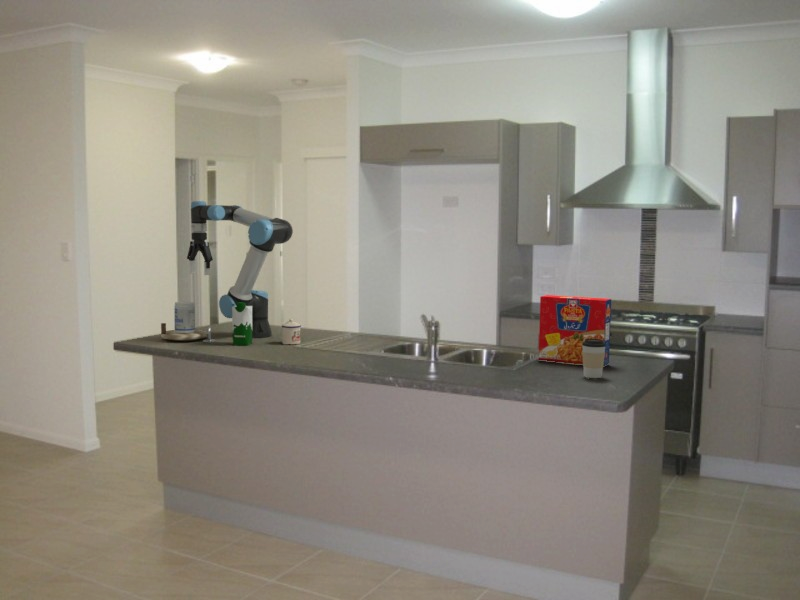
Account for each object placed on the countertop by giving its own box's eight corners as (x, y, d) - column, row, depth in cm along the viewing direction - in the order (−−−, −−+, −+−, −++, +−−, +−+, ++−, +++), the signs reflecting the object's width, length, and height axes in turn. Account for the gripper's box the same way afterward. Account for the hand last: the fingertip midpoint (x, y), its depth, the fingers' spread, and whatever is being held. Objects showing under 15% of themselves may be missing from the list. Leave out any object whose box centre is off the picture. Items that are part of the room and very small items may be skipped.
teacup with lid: (294, 345, 382) (294, 321, 381) (277, 344, 386) (277, 319, 385) (307, 342, 393) (307, 318, 392) (291, 340, 397) (291, 316, 396)
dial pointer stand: (215, 341, 392) (215, 326, 391) (210, 342, 388) (209, 328, 388) (206, 340, 394) (206, 326, 393) (201, 341, 391) (200, 327, 390)
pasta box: (538, 361, 349) (540, 296, 346) (545, 358, 356) (547, 294, 353) (603, 368, 335) (605, 300, 332) (608, 365, 342) (611, 299, 339)
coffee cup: (601, 374, 321) (602, 337, 319) (607, 379, 312) (609, 340, 310) (578, 374, 321) (579, 337, 319) (584, 379, 312) (585, 340, 310)
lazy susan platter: (201, 331, 412) (200, 318, 411) (213, 337, 392) (213, 323, 392) (156, 334, 401) (156, 320, 400) (166, 340, 382) (166, 326, 381)
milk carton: (230, 345, 381) (230, 302, 378) (236, 342, 390) (236, 300, 387) (249, 346, 380) (248, 303, 378) (254, 343, 389) (254, 301, 387)
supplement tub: (170, 333, 393) (170, 303, 392) (182, 330, 402) (181, 301, 401) (187, 334, 390) (187, 303, 389) (199, 331, 399) (198, 302, 398)
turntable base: (205, 338, 400) (205, 335, 400) (187, 342, 388) (187, 339, 388) (182, 336, 406) (182, 333, 406) (163, 340, 393) (163, 337, 393)
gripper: (179, 231, 416) (180, 273, 419) (206, 232, 399) (206, 276, 401) (192, 231, 422) (193, 272, 424) (219, 232, 404) (219, 275, 406)
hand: (199, 274), depth 412 cm, fingers open, 13 cm apart
